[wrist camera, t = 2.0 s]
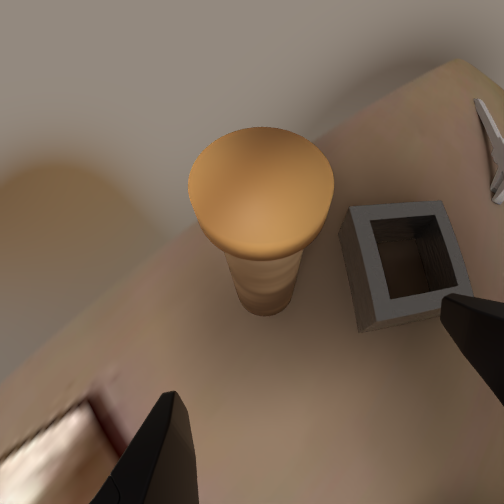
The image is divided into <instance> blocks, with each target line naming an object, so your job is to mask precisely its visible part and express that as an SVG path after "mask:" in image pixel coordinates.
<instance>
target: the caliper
mask: <svg viewBox="0 0 504 504" xmlns="http://www.w3.org/2000/svg"><path fill="white" fill-rule="evenodd" d="M474 101H475V106H476V110H477V112H478V114H479V116H480V118H481V120H482V123H483V125H484V127H485V129H486V131H487V134H488V136H489V138H490V141H491V143H492V146H493V151H492V153H491V155H492V156H493V160H494V162H495V163H496V164H498V169H497V172H496V174H495V177H494V179H493V182H492V184H491V186H490V190H491V191H492V192H494V193H495V195H494V197H493V198H492V201H493V202H495V203H497V204H499V205H500V204H501V203H502V202H503V201H504V139H503V138H502V136H501V134H500V132H499V130H498V128H497V126H496V124H495V122H494V120H493V118H492V117H491V115H490V113H489V111H488V109H487V107H486V106H485V104H484V102H483V101H482V100H480V99H478V98H477V99H474Z"/></svg>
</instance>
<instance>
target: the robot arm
mask: <svg viewBox="0 0 504 504" xmlns="http://www.w3.org/2000/svg"><path fill="white" fill-rule="evenodd" d="M440 320H441V323H442V324H443V326H444V327H445V329H446V330H447V332H448V333H449V334H450V336H451V337H452V339H453V340H454V342H455V343H456V345H457V346H458V348H459V349H460V351H461V352H462V353H463V355H464V356H465V357H466V359H467V360H468V361H469V362H470V363H471V365H472V366H473V367H474V368H475V370H476V371H477V372H478V373H479V375H480V376H481V377H482V378H483V380H484V381H485V382H486V384H487V385H488V386H489V387H490V389H491V390H492V391H493V393H494V394H495V395H496V397H497V398H498V399H499V401H500V402H501V403H502V405H503V406H504V303H502V302H497V301H491V300H486V299H481V298H476V297H471V296H466V295H460V294H455V293H450V294H448V295H446V296H444V297H443V298H442V301H441V311H440ZM110 475H111V476H108V478H107V479H106V481H105V482H104V484H103V485H102V487H101V488H100V490H99V491H98V493H97V494H96V495H95V497H94V498H93V499H92V501H91V502H90V503H89V504H199V497H198V484H197V469H196V456H195V450H194V444H193V439H192V433H191V427H190V422H189V415H188V411H187V409H186V407H185V405H184V403H183V402H182V400H181V398H180V396H179V395H178V393H177V392H176V391H170V392H165V393H163V394H162V395H161V396H160V398H159V399H158V401H157V402H156V404H155V405H154V407H153V409H152V410H151V412H150V413H149V415H148V416H147V418H146V419H145V421H144V422H143V424H142V425H141V427H140V429H139V430H138V432H137V433H136V435H135V436H134V438H133V439H132V441H131V442H130V444H129V446H128V447H127V449H126V450H125V452H124V453H123V455H122V456H121V458H120V459H119V461H118V462H117V464H116V466H115V467H114V469H113V470H112V472H111V473H110Z"/></svg>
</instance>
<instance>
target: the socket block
mask: <svg viewBox="0 0 504 504" xmlns="http://www.w3.org/2000/svg"><path fill="white" fill-rule="evenodd" d="M338 235H339V239H340V243H341V247H342V252H343V256H344V261H345V265H346V270H347V274H348V279H349V284H350V289H351V294H352V299H353V304H354V309H355V315H356V320H357V326H358V331H359V333H362V332H368V331H373V330H378V329H383V328H388V327H393V326H398V325H402V324H407V323H411V322H416V321H420V320H424V319H429V318H433V317H437V316H440V311H441V301H442V298H443V297H444V296H446V295H448V294H450V293H455V294H460V295H466V296H471V297H474V295H473V291H472V288H471V284H470V280H469V277H468V274H467V270H466V267H465V264H464V260H463V257H462V254H461V251H460V248H459V245H458V242H457V240H456V237H455V234H454V231H453V228H452V226H451V223H450V221H449V218H448V215H447V213H446V210H445V208H444V205H443V203H442V201H423V202H406V203H391V204H377V205H364V206H351V207H349V208H348V211H347V213H346V216H345V218H344V221H343V223H342V226H341V228H340V231H339V233H338ZM410 239H415V240H416V243H417V246H418V250H419V253H420V256H421V260H422V263H423V266H424V270H425V274H426V277H427V281H428V285H429V289H430V292H427V293H422V294H417V295H412V296H407V297H401V298H396V299H390V296H389V292H388V287H387V283H386V279H385V275H384V271H383V267H382V263H381V259H380V255H379V252H378V248H377V244H376V243H384V242H393V241H401V240H410Z"/></svg>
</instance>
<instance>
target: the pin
mask: <svg viewBox="0 0 504 504" xmlns="http://www.w3.org/2000/svg"><path fill="white" fill-rule="evenodd" d="M333 192H334V177H333V172H332V169H331V167H330V164H329V162H328V161H327V159H326V157H325V156H324V155H323V153H322V152H321V151H320V150H319V149H318V148H317V147H316V146H315V145H314V144H313V143H311V142H310V141H309V140H307V139H305V138H304V137H302V136H300V135H297V134H295V133H292V132H290V131H287V130H283V129H278V128H271V127H253V128H247V129H242V130H238V131H234V132H232V133H229V134H227V135H225V136H222V137H220V138H219V139H217V140H215V141H214V142H213V143H211V144H210V145H209V146H208V147H206V148H205V149H204V150H203V151H202V153H201V154H200V155H199V156H198V158H197V159H196V161H195V162H194V164H193V166H192V169H191V171H190V175H189V181H188V193H189V197H190V201H191V203H192V206H193V209H194V211H195V214H196V216H197V219H198V222H199V224H200V226H201V229H202V230H203V232H204V234H205V235H206V236H207V238H208V239H209V240H210V241H211V242H212V243H213V244H214V245H215V246H216V247H218V248H219V249H221V250H222V251H224V253H225V256H226V259H227V262H228V265H229V269H230V272H231V275H232V278H233V281H234V284H235V287H236V290H237V293H238V297H239V299H240V302H241V303H242V305H243V306H244V307H245V308H246V309H247V310H248V311H249V312H251V313H253V314H255V315H259V316H271V315H275V314H277V313H279V312H281V311H282V310H283V309H285V308H286V306H287V305H288V304H289V302H290V300H291V297H292V294H293V290H294V286H295V282H296V278H297V274H298V269H299V265H300V261H301V257H302V253H303V249H304V248H305V247H306V246H308V245H309V244H310V243H311V242H312V241H313V240H314V239H315V238H316V237H317V235H318V234H319V232H320V231H321V229H322V227H323V225H324V223H325V220H326V217H327V213H328V210H329V207H330V203H331V200H332V196H333Z"/></svg>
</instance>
